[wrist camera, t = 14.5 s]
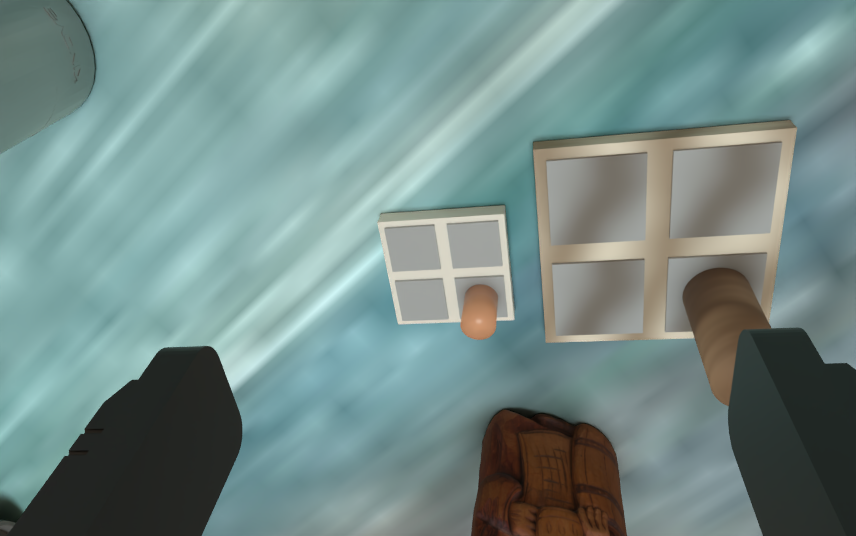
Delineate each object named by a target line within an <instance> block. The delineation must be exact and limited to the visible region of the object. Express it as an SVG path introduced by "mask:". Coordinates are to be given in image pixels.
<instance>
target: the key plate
mask: <svg viewBox="0 0 856 536" xmlns="http://www.w3.org/2000/svg"><path fill="white" fill-rule="evenodd" d="M378 227H379V232H380V237H381V242H382V247H383V252H384V257H385V262H386V267H387V272H388V276H389V281H390V286H391V291H392V296H393V301H394V306H395V311H396V316H397V321H398V324H419V323H446V322H461V329H462V331H463V333H464V334H465V335H467V336H468V337H470V338H472V339H477V340H482V339H486V338H488V337H490V336H491V335H492V334H493V333H494V332H495V329H496V321H500V320H514V313H515V308H514V298H513V287H512V276H511V265H510V254H509V244H508V233H507V222H506V211H505V205H500V206H485V207H471V208H456V209H442V210H427V211H413V212H398V213H384V214H381V215H380V218H379V220H378Z"/></svg>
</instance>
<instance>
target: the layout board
mask: <svg viewBox="0 0 856 536" xmlns="http://www.w3.org/2000/svg"><path fill="white" fill-rule="evenodd" d="M796 131H797V127H796V126H795V125H794V124H793V123H792V122H791V121H790V120H786V121H774V122H763V123H751V124H739V125H727V126H716V127H704V128H692V129H681V130H669V131H657V132H645V133H634V134H622V135H610V136H599V137H587V138H575V139H563V140H552V141H540V142H533V154H534V169H535V184H536V199H537V214H538V229H539V245H540V260H541V275H542V290H543V305H544V320H545V336H546V343H551V342H583V341H616V340H649V339H682V338H694V335H693V331H692V328H691V325H690V322H689V319H688V316H687V313H686V310H685V307H684V304H683V298H682V297H683V291H684V289H685V286H686V285H687V283H688V282H689V281H690V280H691V279H692V278H693V277H694V276H696V275H697V274H699V273H701V272H703V271H705V270H708V269H713V268H729V269H733V270H736V271H738V272H740V273H741V274H743V275H744V276H745V277H746V279H747V280H748V282H749V284H750V286H751V288H752V290H753V292H754V294H755V296H756V298H757V300H758V302H759V304H760V306H761V308H762V310H763V312H764V314H765V316H766V318H767V320H768V322H769V318H770V311H771V304H772V297H773V291H774V284H775V277H776V270H777V263H778V256H779V249H780V242H781V235H782V228H783V221H784V214H785V207H786V200H787V193H788V186H789V179H790V173H791V166H792V159H793V152H794V145H795V138H796Z"/></svg>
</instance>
